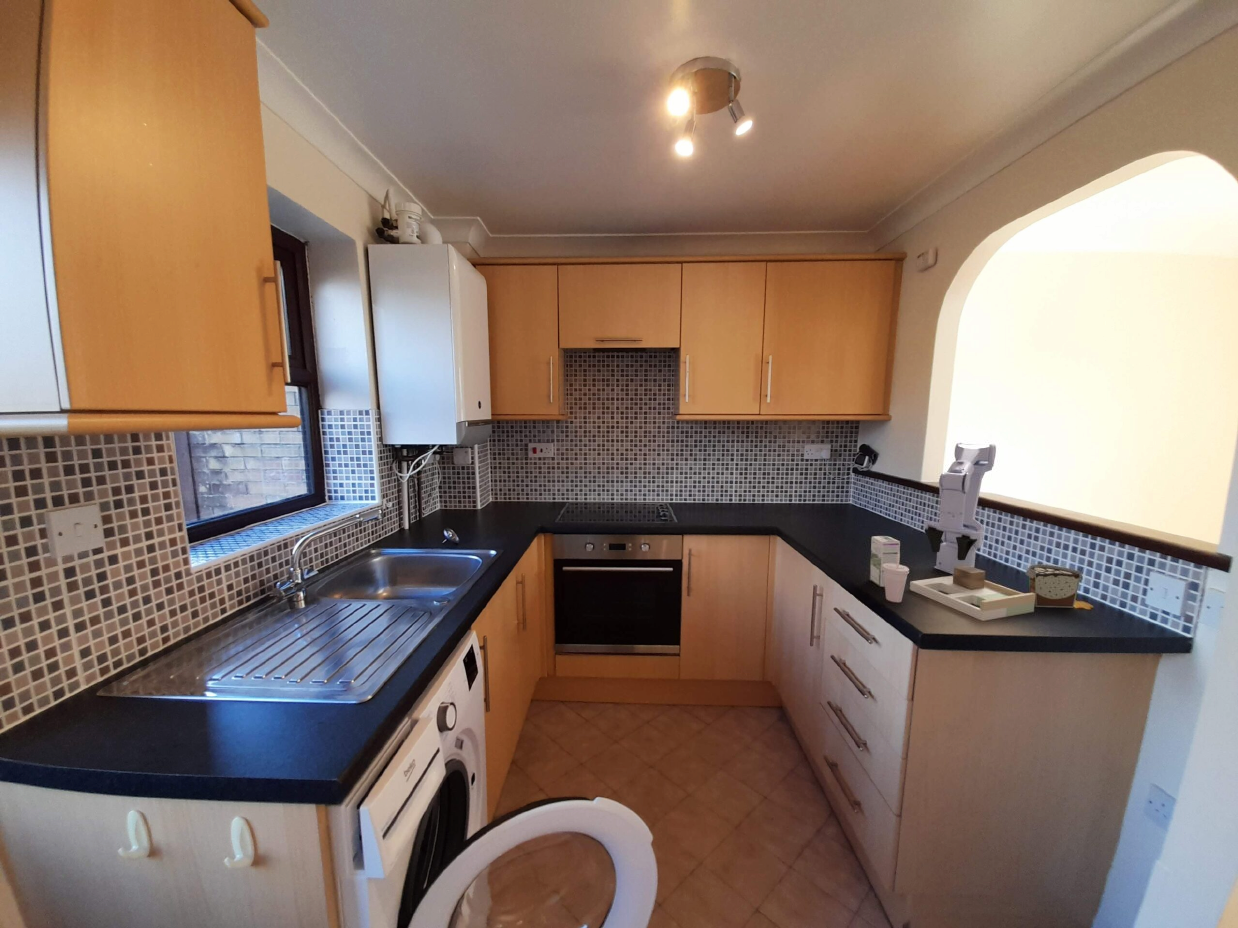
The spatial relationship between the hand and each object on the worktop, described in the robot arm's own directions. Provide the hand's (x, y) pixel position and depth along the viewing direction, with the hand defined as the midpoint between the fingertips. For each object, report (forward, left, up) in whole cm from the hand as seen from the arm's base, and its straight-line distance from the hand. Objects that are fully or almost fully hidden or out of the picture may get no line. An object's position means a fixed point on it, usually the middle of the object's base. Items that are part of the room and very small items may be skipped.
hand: (948, 555), depth 125 cm
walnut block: (+6, 0, -7) cm, 9 cm away
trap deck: (+9, -4, -10) cm, 14 cm away
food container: (+16, +15, -10) cm, 24 cm away
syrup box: (-7, -16, -10) cm, 20 cm away
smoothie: (+3, -24, -10) cm, 26 cm away
